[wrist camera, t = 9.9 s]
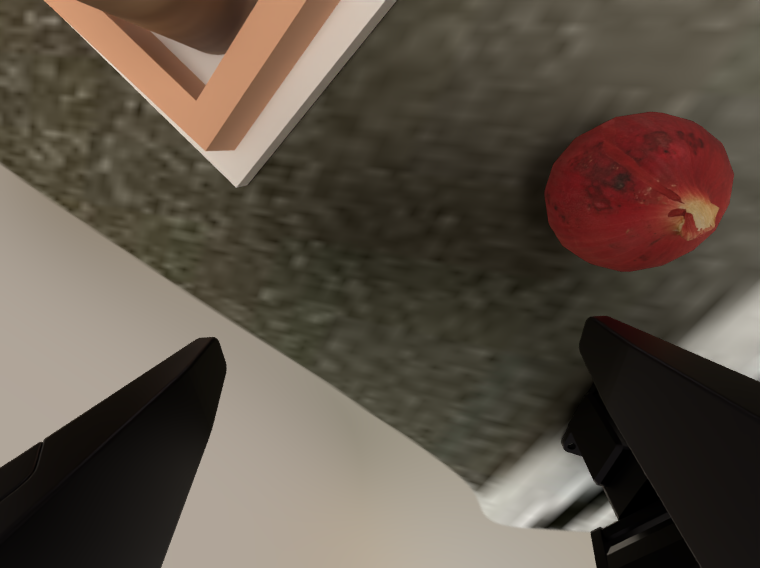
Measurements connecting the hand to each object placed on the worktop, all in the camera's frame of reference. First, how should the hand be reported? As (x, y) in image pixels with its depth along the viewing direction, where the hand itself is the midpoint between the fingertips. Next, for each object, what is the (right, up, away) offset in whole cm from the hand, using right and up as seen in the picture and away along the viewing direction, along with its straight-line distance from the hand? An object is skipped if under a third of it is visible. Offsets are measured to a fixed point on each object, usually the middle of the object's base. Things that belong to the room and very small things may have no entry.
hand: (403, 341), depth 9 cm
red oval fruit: (+10, +6, +9) cm, 15 cm away
